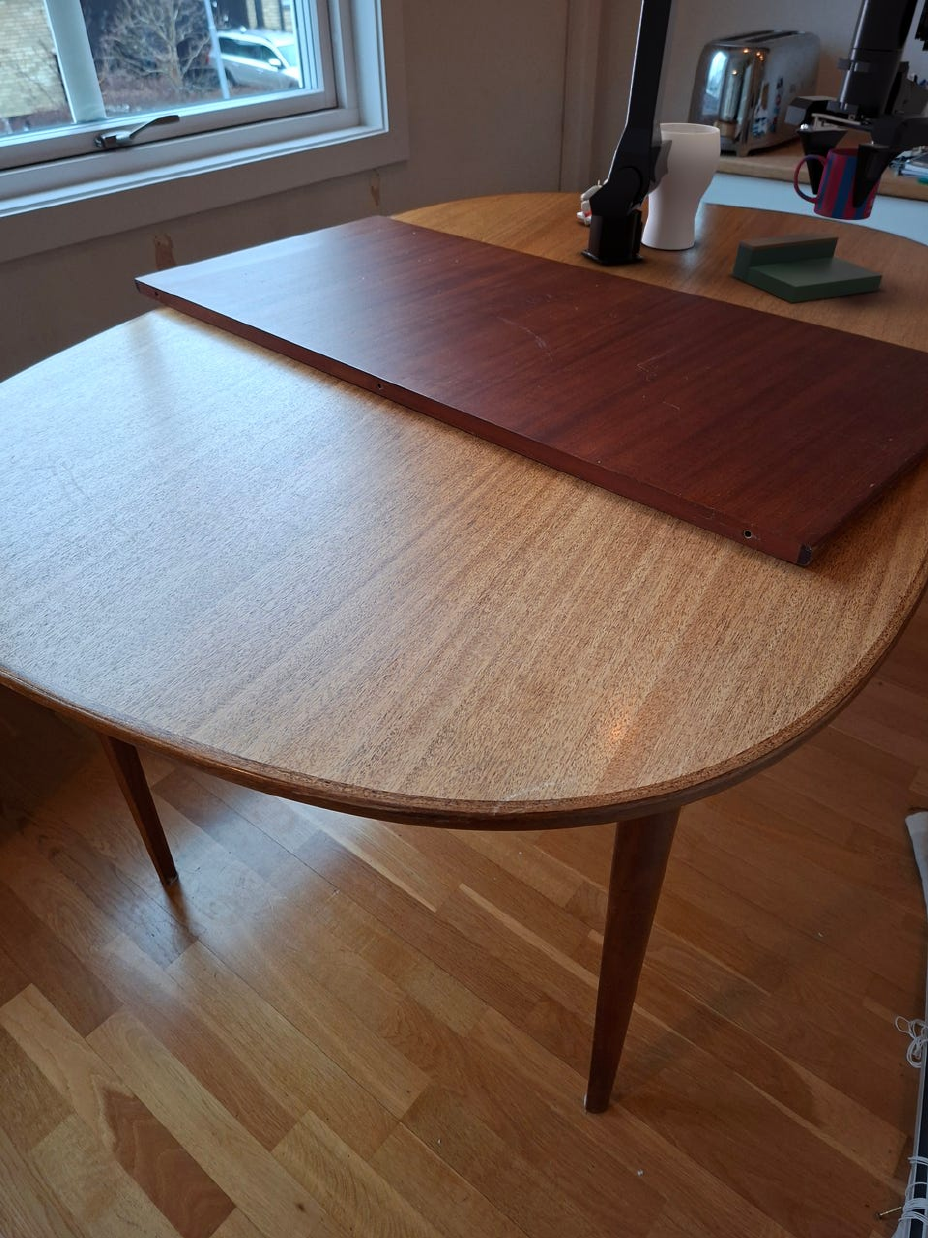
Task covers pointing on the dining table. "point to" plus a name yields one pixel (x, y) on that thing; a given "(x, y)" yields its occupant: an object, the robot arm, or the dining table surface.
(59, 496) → the dining table surface
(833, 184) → the cup
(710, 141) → the cup
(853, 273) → the green l-shaped stand
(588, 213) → the toy airplane
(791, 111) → the robot arm
